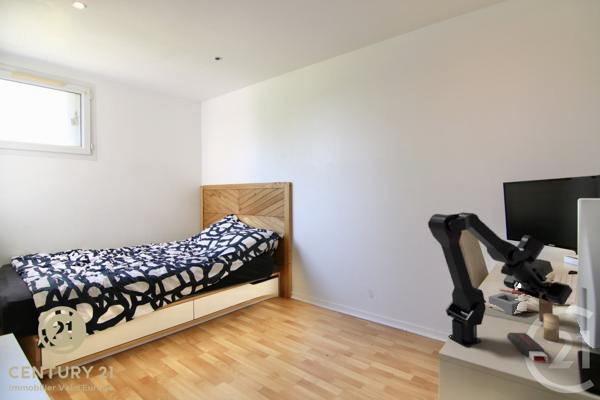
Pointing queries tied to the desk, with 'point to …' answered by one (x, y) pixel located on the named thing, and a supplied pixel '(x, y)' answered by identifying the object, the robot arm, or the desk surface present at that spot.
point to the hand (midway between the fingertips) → (548, 300)
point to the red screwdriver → (514, 291)
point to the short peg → (551, 327)
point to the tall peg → (544, 307)
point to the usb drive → (527, 346)
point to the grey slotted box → (505, 302)
